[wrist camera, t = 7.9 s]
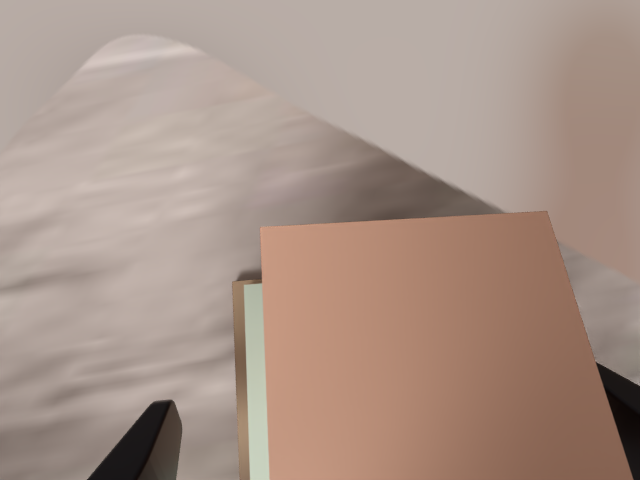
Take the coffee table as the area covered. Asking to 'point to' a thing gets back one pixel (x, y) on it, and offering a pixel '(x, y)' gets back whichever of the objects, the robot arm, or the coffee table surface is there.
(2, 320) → the coffee table surface
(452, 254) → the tall block
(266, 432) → the tower top slab
